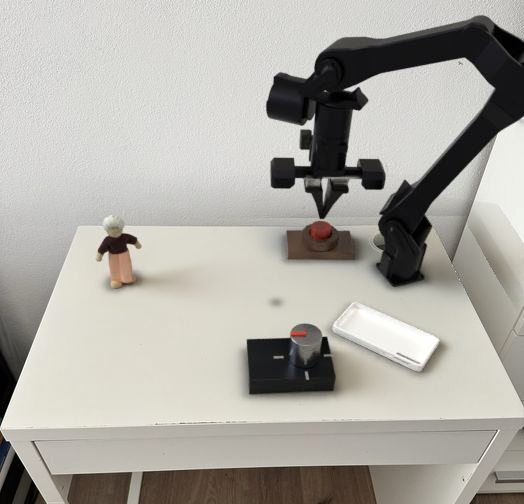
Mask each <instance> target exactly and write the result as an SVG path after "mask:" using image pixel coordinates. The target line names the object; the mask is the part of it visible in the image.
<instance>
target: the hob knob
mask: <svg viewBox="0 0 524 504" xmlns="http://www.w3.org/2000/svg"><path fill="white" fill-rule="evenodd" d="M322 337H323V333H322V331H321V329H320V328H319V327H318V326H316V325H314V324H312V323H307V322H306V323H299V324H298V323H297V324H296V325H294V326H293V327H292V328H291V329H290V333H289V338H290V342H289V355H288V357H289V360H290V362H291V363H292V364H294V365H295V366H297V367H301V368H309V367H312V366H314V365H316V364H317V362H318V361H319V356H320V349H321V342H322Z"/></svg>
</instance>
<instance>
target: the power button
mask: <svg viewBox="0 0 524 504" xmlns="http://www.w3.org/2000/svg"><path fill="white" fill-rule="evenodd" d="M311 224H312V225H311V236H312V237H313V238H316V239H328V238H329V237H330V234H331V223H329V222H328V221H325V220H316V221H314V222H312V223H311Z"/></svg>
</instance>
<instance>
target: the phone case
mask: <svg viewBox="0 0 524 504" xmlns="http://www.w3.org/2000/svg"><path fill="white" fill-rule="evenodd" d="M332 332H334V333H335V334H336V335H338V336H341V337H342V338H345V339H346V340H349V341H351V342H353V343H355V344H357V345H359V346H361V347H364V348H366V349H368V350H370V351H371V352H373V353H376V354H379V355H381V356H383V357H385V358H387V359H389V360H391V361H393V362H395V363H398V364H400V365H402V366H404V367H406V368H408V369H410V370H412V371H415V372H422V371H423V369H424V368H425V366H426V365H427V363H428V362H429V360H430V359H431V357H432V356H433V354H434V353H435V351H436V349H437V348H438V346H439V344H440V339H439V337H437V336H435V335H433V334H431V333H429V332H427V331H425V330H422V329H419V328H417V327H415V326H413V325H411V324H408V323H406V322H403V321H401V320H399V319H397V318H395V317H393V316H390V315H388V314H385V313H384V312H381V311H380V310H376V309H374V308H372V307H371V306H370V307H369V306H367V305H365V304H363V303H361V302H357V301H353V302H352V303H351V304H350V305H348V307H347V308H346V309H345V310H344V311H343V313H342V314H341V315H340V316H339V317H338V318H337V319H336V320H335V321H334V323H333V324H332Z"/></svg>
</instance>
